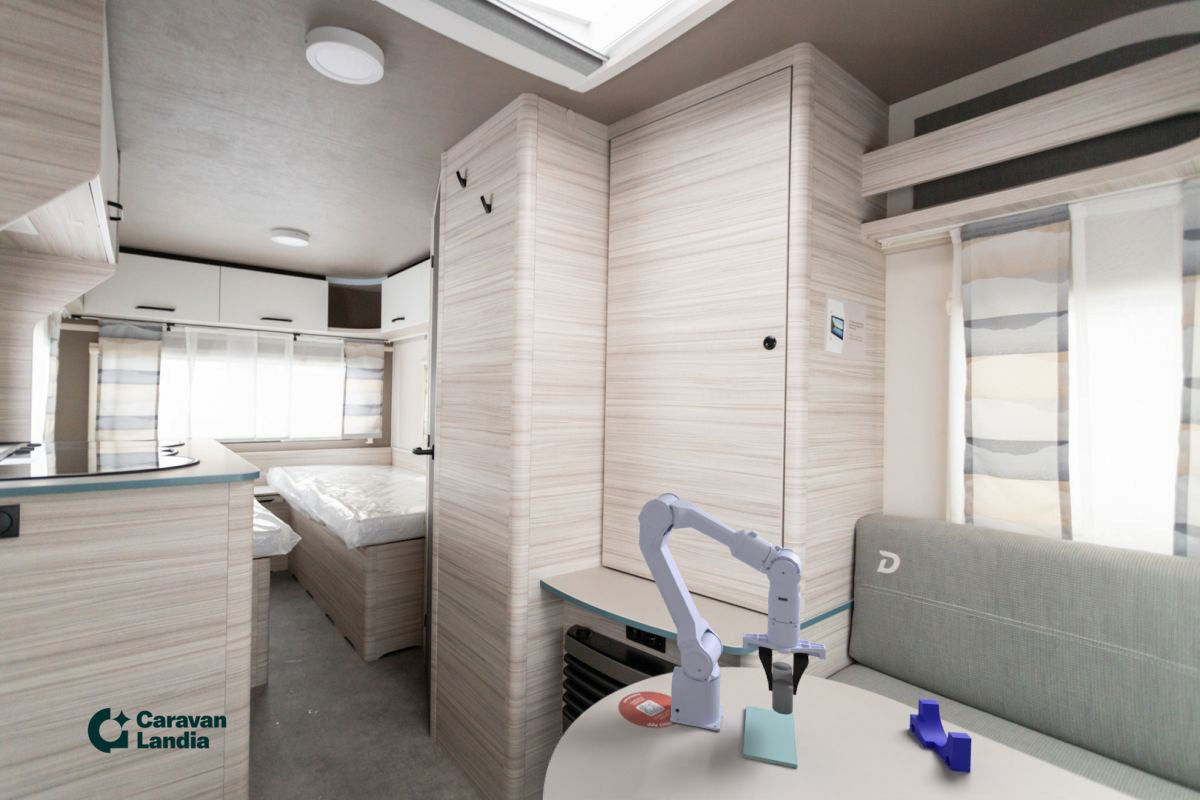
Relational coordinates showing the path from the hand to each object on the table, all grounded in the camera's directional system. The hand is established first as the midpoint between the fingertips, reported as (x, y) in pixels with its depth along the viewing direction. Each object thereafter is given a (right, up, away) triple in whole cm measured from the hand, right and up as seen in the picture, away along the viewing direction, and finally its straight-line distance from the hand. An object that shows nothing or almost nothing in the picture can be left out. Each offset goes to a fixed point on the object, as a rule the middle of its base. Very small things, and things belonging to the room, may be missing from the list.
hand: (782, 690), depth 103 cm
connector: (0, -2, 0) cm, 2 cm away
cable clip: (+28, -10, -2) cm, 30 cm away
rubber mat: (-2, -9, +1) cm, 9 cm away
